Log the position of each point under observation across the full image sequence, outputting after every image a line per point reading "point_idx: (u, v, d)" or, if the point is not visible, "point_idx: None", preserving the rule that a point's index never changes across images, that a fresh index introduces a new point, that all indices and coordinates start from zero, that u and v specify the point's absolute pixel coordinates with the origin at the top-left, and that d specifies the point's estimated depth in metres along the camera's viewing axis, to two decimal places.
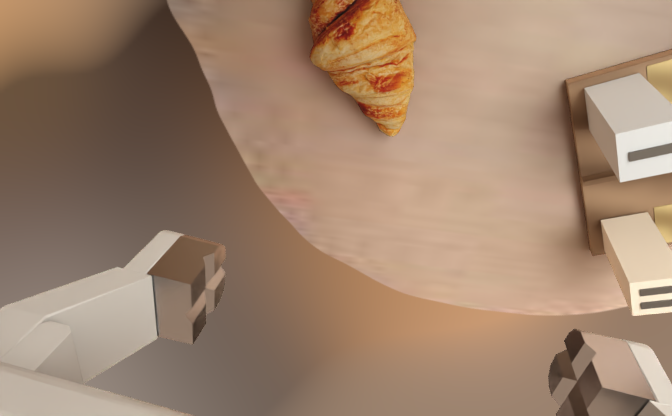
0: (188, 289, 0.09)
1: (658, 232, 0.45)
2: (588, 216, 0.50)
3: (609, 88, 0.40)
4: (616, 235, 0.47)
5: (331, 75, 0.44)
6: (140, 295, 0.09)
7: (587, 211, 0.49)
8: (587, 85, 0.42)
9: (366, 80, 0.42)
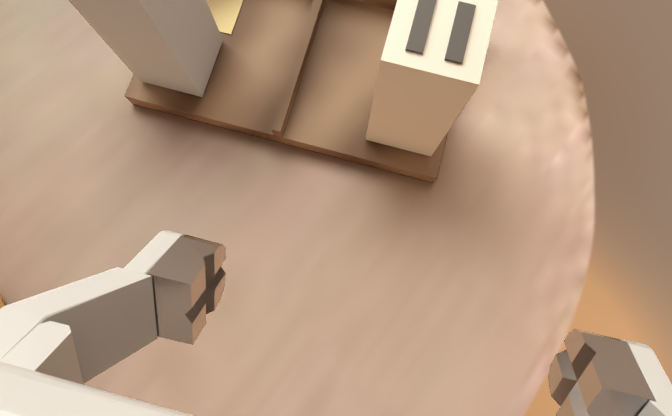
0: (188, 289, 0.09)
1: None
2: (351, 153, 0.30)
3: None
4: None
5: None
6: (140, 295, 0.09)
7: (341, 150, 0.30)
8: None
9: None
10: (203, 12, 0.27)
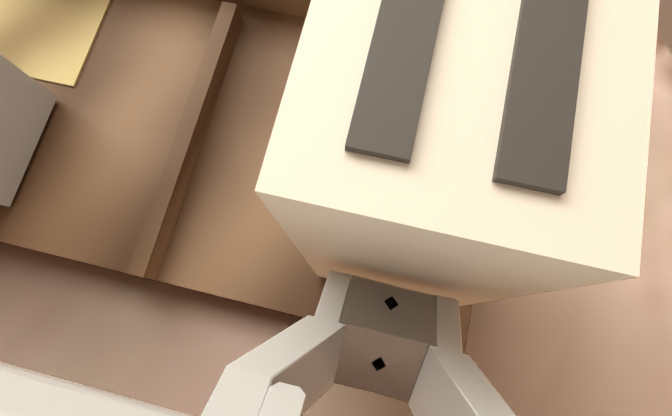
0: (383, 338, 0.09)
1: None
2: (290, 309, 0.15)
3: None
4: None
5: None
6: (334, 345, 0.08)
7: (269, 304, 0.15)
8: None
9: None
10: None
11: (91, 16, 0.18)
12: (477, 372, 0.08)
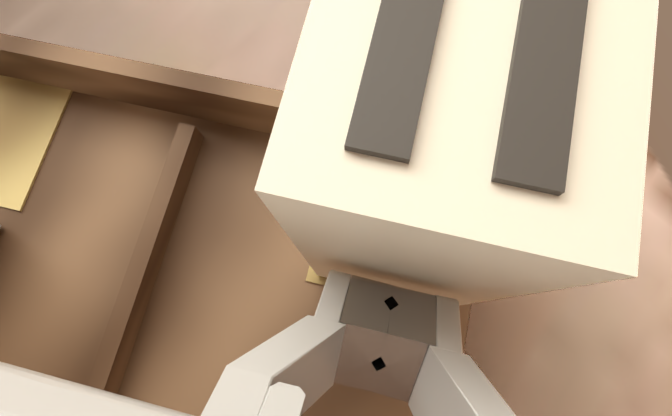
0: (383, 338, 0.09)
1: None
2: None
3: None
4: None
5: None
6: (334, 345, 0.08)
7: None
8: None
9: None
10: None
11: (42, 129, 0.17)
12: (477, 372, 0.08)
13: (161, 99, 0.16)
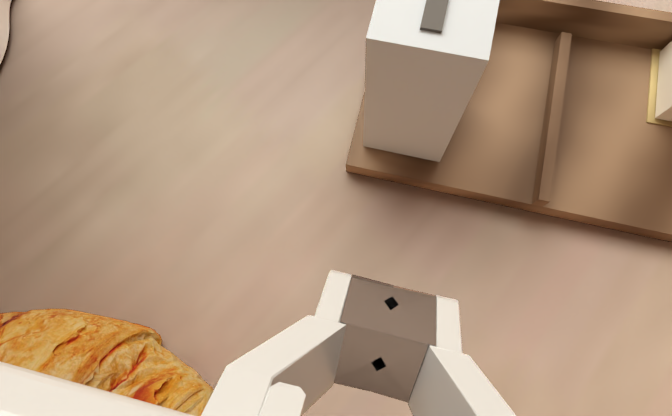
0: (383, 338, 0.09)
1: None
2: (632, 223, 0.24)
3: None
4: None
5: None
6: (334, 345, 0.08)
7: (618, 220, 0.24)
8: None
9: None
10: None
11: None
12: (477, 372, 0.08)
13: (548, 19, 0.27)
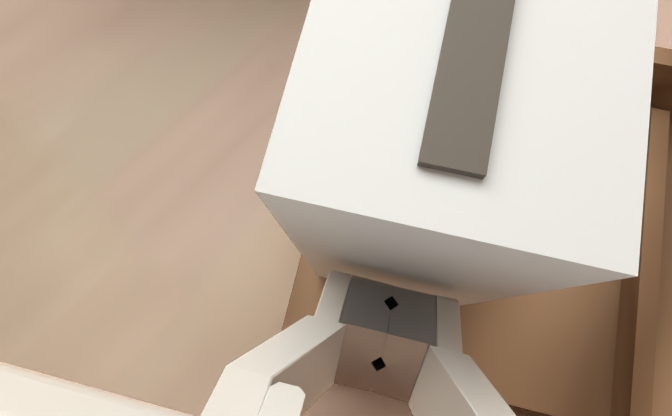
0: (383, 338, 0.09)
1: None
2: None
3: None
4: None
5: None
6: (334, 345, 0.08)
7: None
8: (309, 302, 0.15)
9: None
10: None
11: None
12: (477, 372, 0.08)
13: None
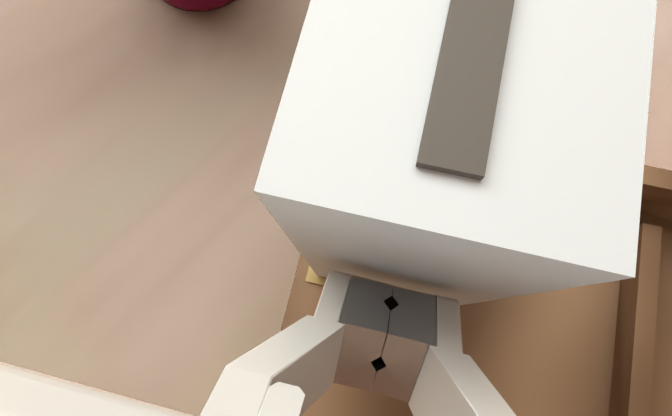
0: (383, 338, 0.09)
1: None
2: None
3: None
4: None
5: None
6: (334, 344, 0.08)
7: None
8: None
9: None
10: None
11: None
12: (477, 372, 0.08)
13: None
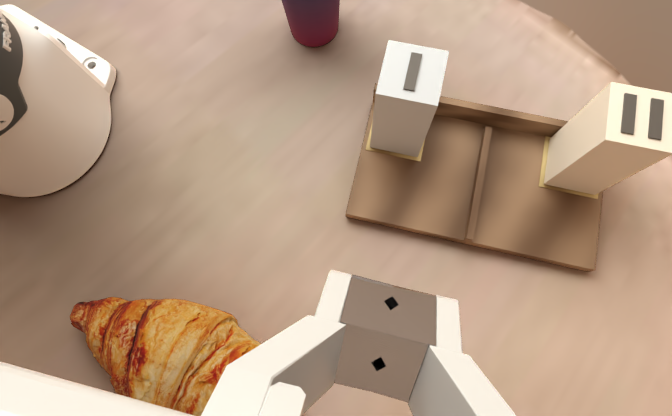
0: (383, 338, 0.09)
1: (567, 123, 0.37)
2: (525, 252, 0.39)
3: None
4: (559, 164, 0.37)
5: None
6: (334, 345, 0.08)
7: (517, 251, 0.39)
8: (356, 198, 0.40)
9: (204, 384, 0.33)
10: None
11: None
12: (477, 372, 0.08)
13: (477, 117, 0.41)
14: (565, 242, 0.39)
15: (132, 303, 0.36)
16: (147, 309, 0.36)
